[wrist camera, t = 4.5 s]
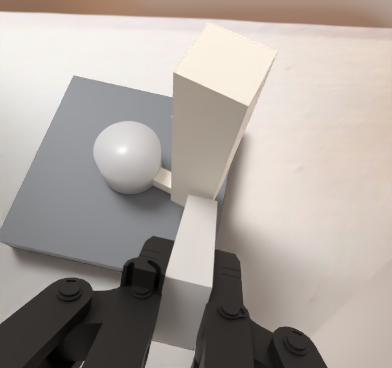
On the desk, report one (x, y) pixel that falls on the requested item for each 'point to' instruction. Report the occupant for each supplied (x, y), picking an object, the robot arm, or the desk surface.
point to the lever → (192, 121)
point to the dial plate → (93, 183)
